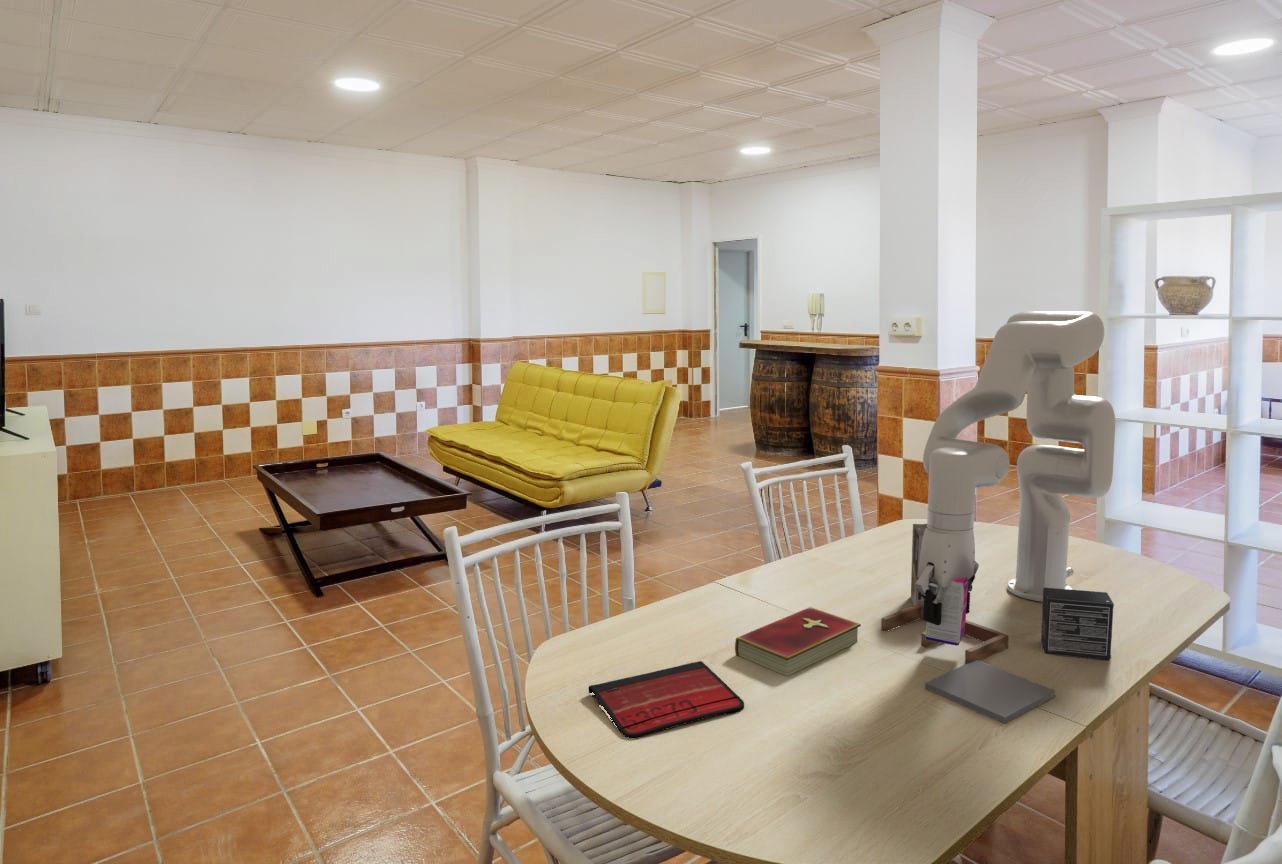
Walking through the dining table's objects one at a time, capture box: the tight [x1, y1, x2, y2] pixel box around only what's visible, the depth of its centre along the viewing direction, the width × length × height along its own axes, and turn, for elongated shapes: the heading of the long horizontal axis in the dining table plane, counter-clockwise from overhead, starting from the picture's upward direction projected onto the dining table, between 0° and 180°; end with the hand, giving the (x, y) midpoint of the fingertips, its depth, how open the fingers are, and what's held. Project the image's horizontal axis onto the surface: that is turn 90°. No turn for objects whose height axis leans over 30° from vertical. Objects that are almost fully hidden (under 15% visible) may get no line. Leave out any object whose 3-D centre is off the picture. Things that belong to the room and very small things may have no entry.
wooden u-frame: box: [880, 604, 1010, 665], centre depth 153 cm, size 12×19×2 cm, turn 35°
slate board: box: [924, 660, 1057, 725], centre depth 133 cm, size 14×14×1 cm
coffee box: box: [910, 523, 928, 606], centre depth 169 cm, size 9×6×16 cm
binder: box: [588, 660, 745, 739], centre depth 132 cm, size 16×2×21 cm
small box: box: [1040, 588, 1115, 661], centre depth 147 cm, size 11×6×10 cm, turn 71°
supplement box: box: [925, 577, 969, 647], centre depth 145 cm, size 6×6×12 cm
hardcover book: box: [734, 606, 862, 677], centre depth 151 cm, size 12×21×4 cm, turn 131°
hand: (946, 616), depth 145 cm, fingers closed on supplement box, 7 cm apart
